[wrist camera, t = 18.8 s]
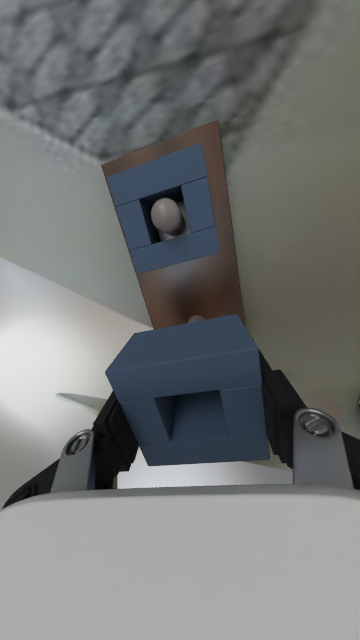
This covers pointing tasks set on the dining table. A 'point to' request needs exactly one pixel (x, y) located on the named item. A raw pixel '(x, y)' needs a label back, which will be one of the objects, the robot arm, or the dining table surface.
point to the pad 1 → (178, 185)
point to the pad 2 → (193, 393)
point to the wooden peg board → (171, 221)
